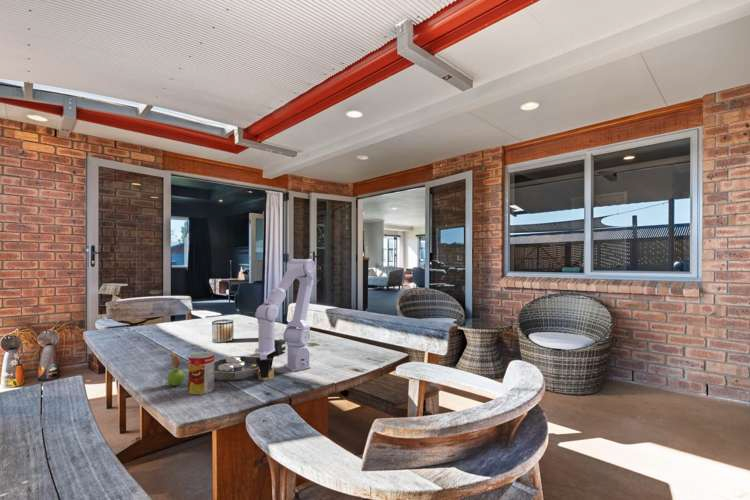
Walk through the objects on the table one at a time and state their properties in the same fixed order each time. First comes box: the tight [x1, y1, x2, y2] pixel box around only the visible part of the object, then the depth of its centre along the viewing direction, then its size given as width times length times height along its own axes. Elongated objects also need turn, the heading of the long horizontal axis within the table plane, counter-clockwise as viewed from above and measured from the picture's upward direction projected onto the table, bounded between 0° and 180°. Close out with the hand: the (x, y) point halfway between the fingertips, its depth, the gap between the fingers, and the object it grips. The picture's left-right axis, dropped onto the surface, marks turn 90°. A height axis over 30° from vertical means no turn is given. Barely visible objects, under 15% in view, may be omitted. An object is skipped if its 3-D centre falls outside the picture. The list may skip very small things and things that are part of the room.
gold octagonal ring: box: [257, 367, 275, 381], centre depth 134 cm, size 5×5×3 cm
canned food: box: [187, 350, 215, 395], centre depth 122 cm, size 8×8×12 cm
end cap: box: [274, 338, 287, 356], centre depth 168 cm, size 10×7×7 cm
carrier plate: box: [214, 355, 260, 382], centre depth 142 cm, size 22×22×4 cm
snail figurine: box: [166, 348, 186, 387], centre depth 127 cm, size 5×6×12 cm
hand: (266, 374), depth 134 cm, fingers open, 7 cm apart
